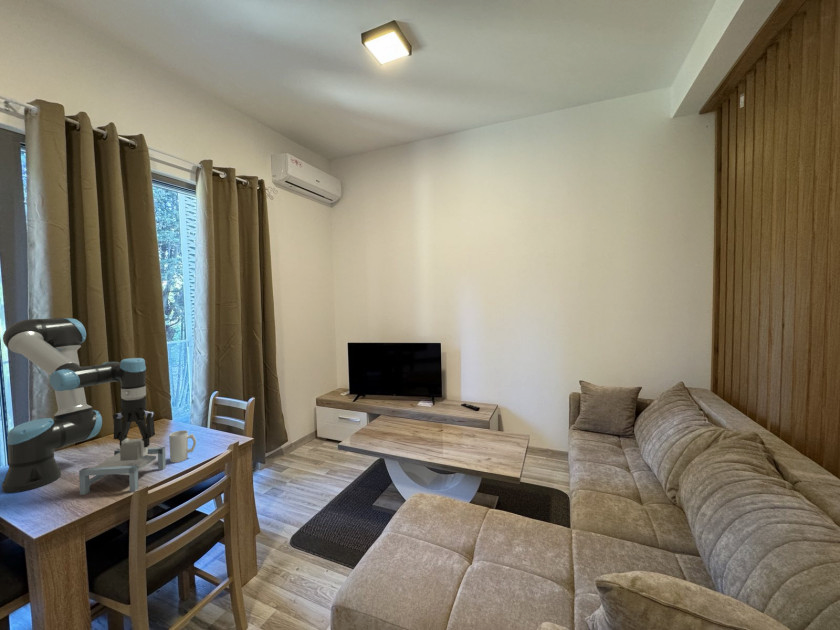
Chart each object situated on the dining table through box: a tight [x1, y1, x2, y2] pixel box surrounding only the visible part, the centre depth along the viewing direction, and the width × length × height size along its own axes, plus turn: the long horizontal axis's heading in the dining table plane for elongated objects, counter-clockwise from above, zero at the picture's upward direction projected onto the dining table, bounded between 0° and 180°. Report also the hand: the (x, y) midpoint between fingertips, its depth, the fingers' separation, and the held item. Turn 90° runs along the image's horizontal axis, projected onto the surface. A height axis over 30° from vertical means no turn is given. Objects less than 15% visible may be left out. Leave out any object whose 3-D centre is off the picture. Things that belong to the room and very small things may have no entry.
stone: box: [119, 438, 143, 461], centre depth 133 cm, size 6×6×6 cm
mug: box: [168, 430, 197, 463], centre depth 151 cm, size 10×7×12 cm, turn 109°
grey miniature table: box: [78, 446, 166, 496], centre depth 133 cm, size 18×18×9 cm
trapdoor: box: [92, 453, 157, 476], centre depth 132 cm, size 14×14×1 cm
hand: (135, 455), depth 133 cm, fingers closed on stone, 6 cm apart
